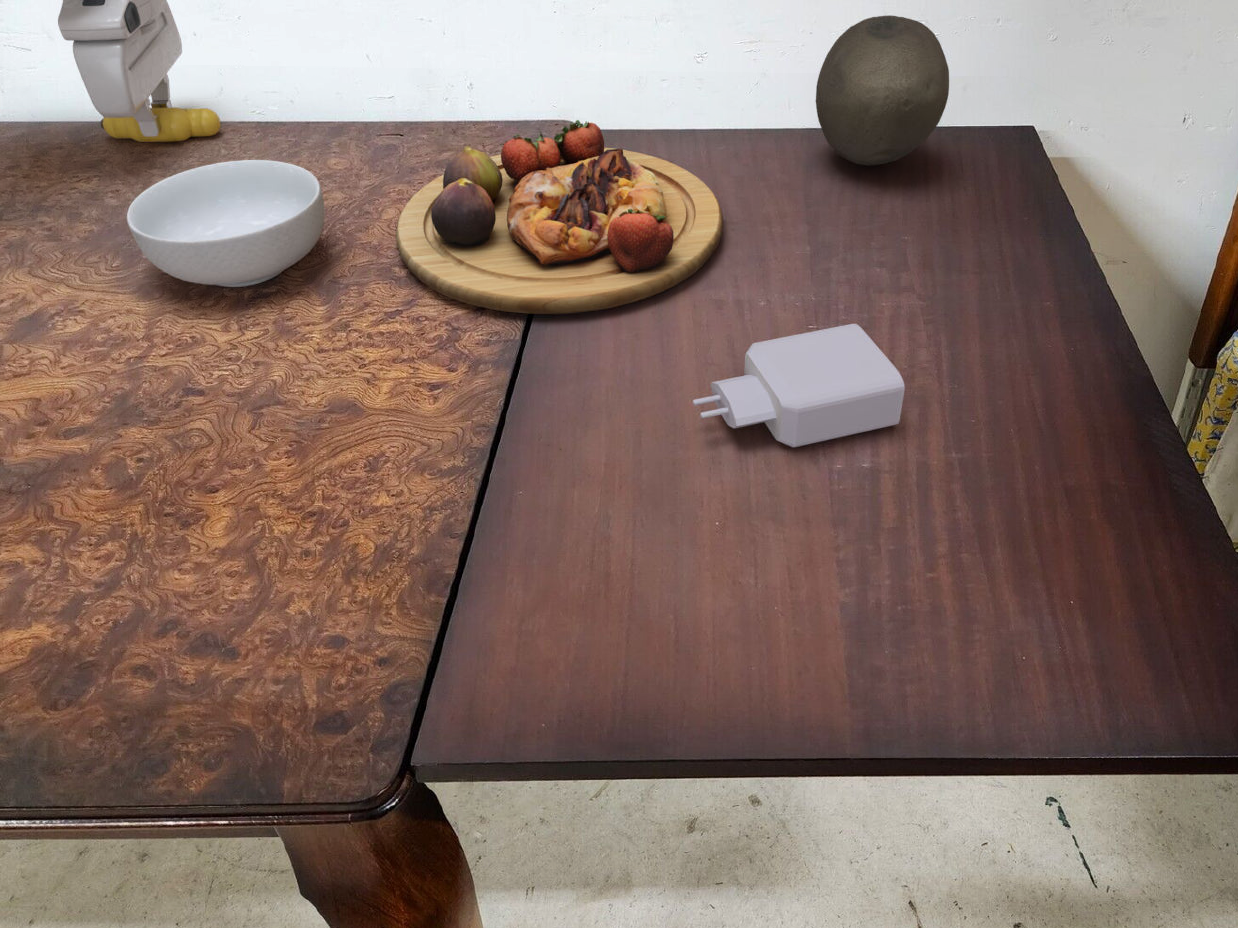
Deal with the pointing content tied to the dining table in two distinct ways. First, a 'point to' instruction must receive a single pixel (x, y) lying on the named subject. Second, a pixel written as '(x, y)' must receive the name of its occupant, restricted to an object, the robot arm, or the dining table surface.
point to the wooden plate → (558, 225)
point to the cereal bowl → (229, 221)
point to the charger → (812, 387)
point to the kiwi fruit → (882, 89)
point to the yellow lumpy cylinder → (166, 125)
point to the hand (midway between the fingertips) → (159, 125)
